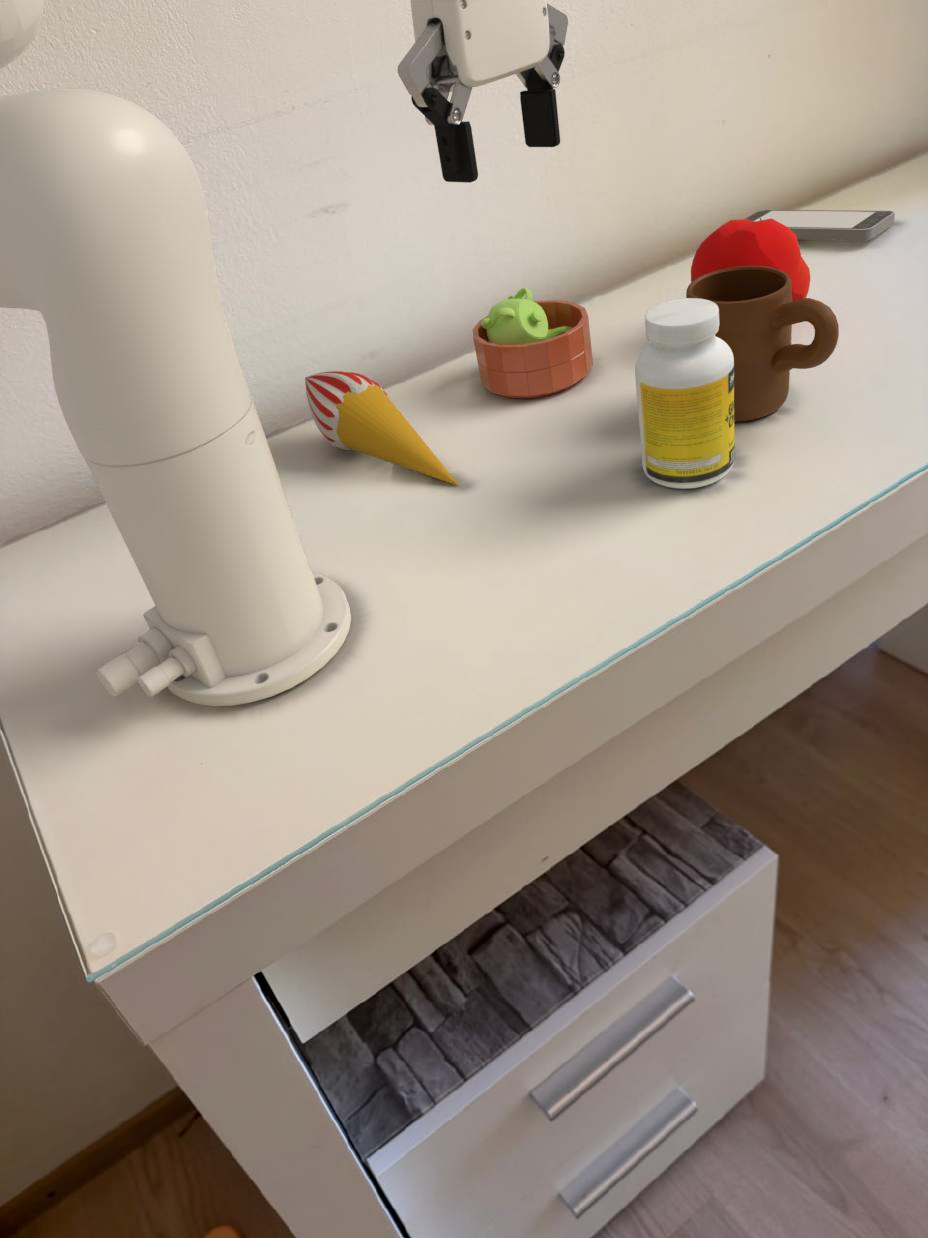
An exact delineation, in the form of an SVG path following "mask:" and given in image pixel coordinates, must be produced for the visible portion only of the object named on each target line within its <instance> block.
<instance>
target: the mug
mask: <svg viewBox="0 0 928 1238" xmlns="http://www.w3.org/2000/svg"><path fill="white" fill-rule="evenodd" d="M685 298H698V299H705V300H709V301H712V302H714V303H715V304H716V305H717V306H718V308H719V330H718V332H717V333H716V334H715V336H716V337H718V338H720V339H722V340H723V341H724V342H726V343H727V344H728V346H729V347H730V348H731V350H732V353H733V357H734V423H739V422H749V421H753V420H757V419H761V418H764V417H766V416H769V415H771V414H773V413H775V412H777V410H779V409H780V408H781V407H782V406H783V405H784V404H785V402H786V401H787V399H788V395H789V389H790V379H791V378H790V376H791V375H790V374H791V373H790V372H791V370H793V369H797V370H798V369H799V370H807V369H813V368H816V367H819V366H821V365H822V364H823V363H825V362H826V361H827V360H828V359H829V358H830V357H831V356H832V355H833V353H834V351H835V350H836V348H837V346H838V341H839V335H840V333H839V332H840V331H839V329H840V328H839V322H838V319H837V316H836V313H834V311H833V310H832V308H831V307H830V306H829V305H827V304H825V303H824V302H822V301H820V300H817V299H815V298H811V297H806V298H803V299H799V300H796V301H792V291H791V279H790V277H789V276H788V274H786V273H785V272H783V271H781V270H779V269H775V268H770V267H763V266H742V267H732V268H726V269H721V270H717V271H714V272H710V273H708V274H705V275H703V276H700V277H698V278H697V279H695V280H694V281H692V282H691V281H690V283H689V284H688V286H687V288H686V292H685ZM804 322H807V323H809V324H811V326H813V329H814V336H813V339H812V341H811V343H810V344H803V343H792V332H793V331H792V330H793V329H792V328H793V326H792V325H795V324H796V325H797V324H800V323H804Z"/></svg>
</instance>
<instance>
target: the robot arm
mask: <svg viewBox="0 0 928 1238" xmlns="http://www.w3.org/2000/svg"><path fill="white" fill-rule="evenodd" d="M547 1H548V0H410V11H411V19H412V27H413V35H414V43H413V45H412V46H411V47H410V48H409V50H408V52H407V53H406V54H405V55H404V57H403V58H402V59H401V61H400V63H399V64H398V65H397V74H398V77H399V78H400V80H401V83H402V84H403V85H404V87H405V89H406V91H407V92H408V94H409V95H411V98H410V99H411V103H412V105H413V107H415V108H416V109H417V110H418V112H420V113H421V114H422V115H424V119H425V122H426V123H427V125H429V126H433V127H434V133H435V134H434V135H435V139H436V145H437V151H438V157H439V162H440V168H441V174H442V179H443V180H444V181H445V182H446V183H469V184H470V183H472V182H476V181H477V180H478V177H479V171H478V163H477V157H476V151H475V144H474V137H473V129H472V125H471V122H470V121H463V119H464V116H465V113H466V110H467V107H468V103H469V100H470V97H471V94H472V91H473V88H478V87H481V86H485V85H487V84H490V83H493V82H496V81H499V80H502V79H505V78H508V77H511V76H514V75H516V76H517V78H518V79H519V81H520V82H521V84H522V85H523V87H525V89H526V90H522V91H520V92H519V95H520V96H519V99H520V110H521V117H522V126H523V133H524V134H523V135H524V143H525V145H526V146H527V147H528V148H555V147H557V146H559V145H560V144H561V134H560V123H559V122H560V121H559V113H558V103H557V102H558V101H557V92H556V89H557V88H558V87H559V86H560V83H561V76H560V70H561V67H562V64H563V61H564V58H565V53H566V52H565V47H564V46H565V43H566V39H567V38H566V37H567V32H568V26H569V18H568V16H567V15H566V13H563V12H562V11H560V10H559V9H557V8H555V7H554V6H552V5H551V4H549V3H547ZM44 9H45V0H0V70H1V69H3V68H5V67H7V66H9V65H11V63H13V62H14V61H15V60H16V59H17V58H19V57H20V56H21V55H22V54H24V52H26V51H27V50H28V49H29V47H30V46H31V44H32V43H33V41H34V40H35V38H36V36H37V34H38V32H39V28H40V27H41V24H42V21H43V20H42V19H43V16H44ZM450 93H451V96H450V100H448V99H449V95H450ZM170 129H171V128H169V127H168V126H167V125H166V124H165V123H164V122H162V121H161V120H160V119H159V118H158V117H156V116H155V115H154V114H152V113H151V111H148V110H147V109H146V108H144V107H142V106H140V105H138V103H137V104H136V103H135V102H133V101H131V100H129V99H126V98H124V97H121V96H118V95H116V94H112V93H109V92H105V91H100V90H92V89H87V88H79V87H78V88H53V89H52V88H50V89H40V90H33V91H26V92H21V93H20V92H19V93H12V94H6V95H0V308H5V309H21V310H31V311H36V312H40V314H41V316H42V318H43V321H44V323H45V326H46V331H47V336H48V343H49V352H50V353H49V355H50V366H51V373H52V380H53V385H54V390H55V394H56V397H57V398H56V399H57V401H58V405H59V407H60V410H61V413H62V416H63V419H64V420H65V422H66V423H65V424H66V425H67V427H68V429H69V431H70V434H71V437H72V438H73V440H74V442H75V444H76V446H77V449H78V450H79V453H80V455H81V457H82V458H83V459H84V461H85V463H86V465H87V467H88V469H89V471H90V473H91V475H92V477H93V479H94V481H95V484H96V486H97V488H98V490H99V491H100V494H101V496H102V498H103V500H104V502H105V504H106V506H107V509H108V510H109V512H110V514H111V517H112V519H113V521H114V523H115V525H116V527H117V529H118V531H119V533H120V535H121V538H122V540H123V541H124V544H125V546H126V548H127V549H128V552H129V554H130V556H131V558H132V560H133V562H134V565H135V566H136V569H137V570H138V573H139V574H140V577H141V579H142V581H143V583H144V585H145V587H146V589H147V591H148V593H149V596H150V597H151V599H152V602H153V604H154V606H153V607H152V608H149V609H148V610H146V611H145V612H143V613H142V616H143V618H144V620H145V622H146V624H147V626H148V628H149V629H148V630H147V631H146V632H144V633H143V634H141V635H139V636H138V644H136V645H135V646H134V647H131V649H129V650H127V651H126V652H124V653H121V654H119V655H118V656H116V657H114V658H113V659H112V660H109V661H108V662H106V663H105V664H104V665H102V666H101V667H100V668H98V669H96V670H95V675H96V677H97V679H98V681H99V682H100V683H101V685H102V686H103V688H104V689H105V690H106V691H107V692H108V693H109V694H110V695H111V696H112V697H113V698H117V697H118V696H119V695H121V694H122V693H124V692H125V691H127V690H128V689H130V688H131V687H133V686H134V685H135V684H138V685H139V687H140V688H141V689H142V691H143V692H144V694H146V695H147V696H148V697H149V698H153V697H154V696H156V695H157V694H159V693H160V692H161V691H163V690H165V689H166V688H167V689H168V690H169V691H170V692H171V693H172V694H173V695H175V696H176V697H178V698H180V699H182V700H183V701H187V702H188V703H189V702H190V703H193V704H196V705H202V706H211V707H229V706H238V705H245V704H250V703H255V702H258V701H262V700H265V699H268V698H271V697H274V696H276V695H279V694H281V693H284V692H286V691H289V690H290V689H293V688H294V687H296V686H298V685H300V684H301V683H303V682H305V681H307V680H308V679H310V678H311V677H312V676H313V675H315V674H316V673H317V672H319V671H320V670H321V669H323V668H324V667H325V666H326V665H327V664H328V663H329V662H330V661H331V659H332V658H334V657H335V656H336V655H337V653H338V652H339V650H340V649H341V647H342V646H343V645H344V643H345V641H346V639H347V637H348V634H349V632H350V629H351V624H352V623H351V622H352V613H351V608H350V604H349V601H348V599H347V596H346V593H345V591H344V590H343V589H342V588H341V586H340V585H339V584H338V583H337V582H335V581H334V580H332V578H330V577H328V576H325V575H323V574H321V573H318V572H315V571H312V568H311V564H310V561H309V559H308V556H307V553H306V550H305V547H304V544H303V542H302V539H301V536H300V532H299V530H298V527H297V524H296V521H295V518H294V516H293V512H292V509H291V506H290V504H289V501H288V498H287V495H286V492H285V489H284V487H283V484H282V480H281V478H280V475H279V472H278V469H277V467H276V463H275V460H274V457H273V454H272V452H271V449H270V446H269V443H268V440H267V438H266V434H265V431H264V429H263V425H262V423H261V422H262V421H261V419H260V416H259V414H258V411H257V408H256V404H255V401H254V399H253V396H252V393H251V392H250V389H249V386H248V382H247V380H246V377H245V374H244V372H243V371H244V370H243V368H242V366H241V362H240V359H239V356H238V353H237V349H236V346H235V343H234V340H233V337H232V333H231V330H230V327H229V322H228V319H227V316H226V313H225V308H224V307H225V306H224V303H223V299H222V294H221V290H220V286H219V279H218V273H217V267H216V261H215V254H214V245H213V238H212V231H211V230H212V229H211V223H210V218H209V211H208V206H207V202H206V197H205V194H204V189H203V185H202V183H201V180H200V177H199V174H198V172H197V169H196V167H195V164H194V163H193V161H192V159H191V157H190V155H189V154H188V152H187V150H186V149H185V147H184V146H183V144H182V143H181V142H180V140H179V139H178V138H177V136H176V135H175V134H174V133H173V132H172V131H171V130H170Z"/></svg>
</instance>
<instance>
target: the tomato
mask: <svg viewBox="0 0 928 1238" xmlns="http://www.w3.org/2000/svg"><path fill="white" fill-rule="evenodd" d="M742 266H763V267H770V268H775V269H779V270H781V271H783V272H785V273H786V274H788V276H789V277H790V279H791V291H792V301H796V300H799V299H803V298H808V297H807V296H808V294H809V292H810V285H811V271H810V267H809V266H808V264H807V262H806V261H805V259H804V258H803V256H802V252H801V248H800V243H799V239H797V236H796V235H795V234H794V233H793V232H792V231H791V230H790V229H789V228H788V227H787V226H785V225H783V224H781V223H779V222H778V221H776V220H774V219H772V218H771V219H766V220H761V218H760V221H756V222H755V221H751V220H748V219H745V218H742V219H730V220H728V221H727V222H725V223H723V224H722V225H720V226H719V227H718V228H716V230H714V231H713V232H711V233H710V234H709V235H708V236H707V237H706V238H705V239H704V240H703V241H702V242H701V243H700V244H699V246H698V247H697V249H696V251H695V254H694V256H693V259H692V262H691V266H690V283H691V282H692V281H694V280H695V279H697V278H698V277H700V276H703V275H705V274H708V273H710V272H714V271H717V270H721V269H726V268H732V267H742Z"/></svg>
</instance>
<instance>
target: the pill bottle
mask: <svg viewBox="0 0 928 1238" xmlns="http://www.w3.org/2000/svg"><path fill="white" fill-rule="evenodd" d="M718 330H719V308H718V306H717V305H716V304H715V303H714V302H712V301H709V300H705V299H698V298H686V297H684V298H677V299H672V300H668V301H664V302H661V303H659V304H658V303H657V304H656V305H654V306H653V307H650V308H649V310H647V311H646V313H645V315H644V333H645V337H646V340H647V341H648V342H650V343H649V344H648V345H647V346H646V347H645V348H644V349H643V350H642V351H641V352H640V353H639V354H638V356H637V358H636V361H635V364H634V376H635V377H634V379H635V388H636V389H635V390H636V400H637V412H638V424H639V438H640V449H641V450H640V452H641V464H642V470H643V473H644V474H645V476H646V477H647V478H648V479H649V480H651V481H652V482H654V483H655V484H658V485H659V486H663V487H666V488H672V489H683V490H684V489H685V490H687V489H696V488H702V487H705V486H708V485H712V484H714V483H716V482H718V481H720V480H722V479H723V478H724V477H726V476H727V475H728V474H729V472H731V470H732V468H733V466H734V463H735V459H736V447H735V446H736V445H735V443H736V442H735V441H736V439H735V434H736V433H735V422H734V357H733V353H732V350H731V348H730V347H729V346H728V344H727V343H726V342H724V341H723V340H722V339H720V338H718V337H716V336H715V334H716V333H717V332H718Z"/></svg>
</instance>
